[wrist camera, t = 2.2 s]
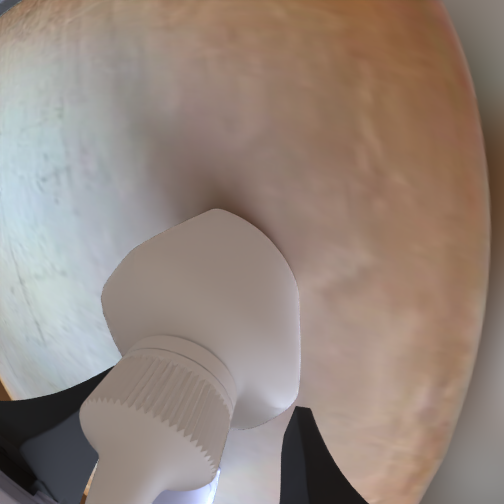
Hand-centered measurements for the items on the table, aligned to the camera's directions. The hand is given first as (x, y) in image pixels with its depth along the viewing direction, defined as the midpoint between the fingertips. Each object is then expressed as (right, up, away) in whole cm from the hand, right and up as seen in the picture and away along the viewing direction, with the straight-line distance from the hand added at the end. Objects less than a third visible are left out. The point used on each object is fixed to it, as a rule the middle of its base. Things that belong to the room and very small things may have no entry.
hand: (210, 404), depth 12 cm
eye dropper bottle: (+1, +6, +2) cm, 7 cm away
